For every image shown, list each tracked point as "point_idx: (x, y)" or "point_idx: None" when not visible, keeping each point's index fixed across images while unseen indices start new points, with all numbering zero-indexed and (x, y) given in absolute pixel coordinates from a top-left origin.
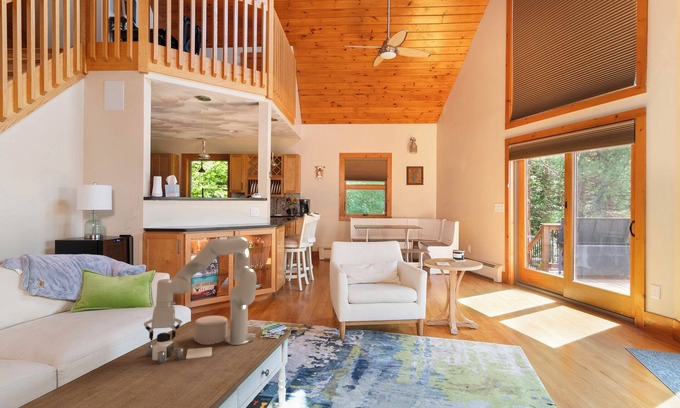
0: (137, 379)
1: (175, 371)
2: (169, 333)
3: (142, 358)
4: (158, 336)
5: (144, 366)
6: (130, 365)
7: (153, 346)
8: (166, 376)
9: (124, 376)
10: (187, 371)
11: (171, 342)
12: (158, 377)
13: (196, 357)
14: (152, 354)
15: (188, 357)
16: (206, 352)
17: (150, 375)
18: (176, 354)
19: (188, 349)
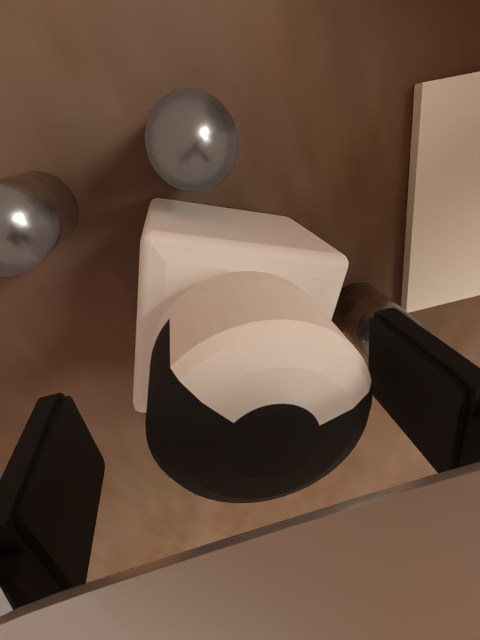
0: (189, 543)
1: (353, 465)
2: (364, 396)
3: (21, 283)
4: (204, 495)
5: (141, 423)
6: (18, 414)
7: (144, 409)
8: (319, 508)
9: (96, 531)
10: (411, 460)
11: (331, 311)
12: (284, 519)
13: (475, 293)
14: (74, 203)
15: (423, 304)
16: None
17: (236, 509)
18: (353, 339)
19: (427, 90)
